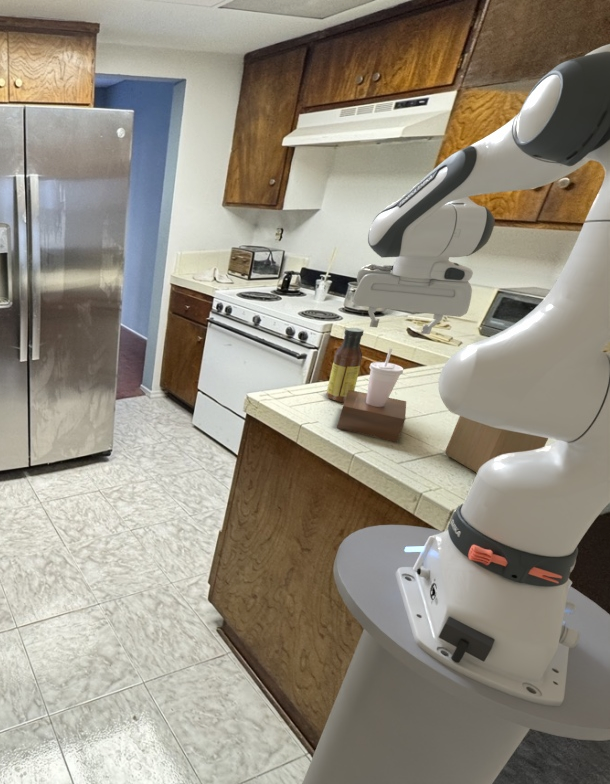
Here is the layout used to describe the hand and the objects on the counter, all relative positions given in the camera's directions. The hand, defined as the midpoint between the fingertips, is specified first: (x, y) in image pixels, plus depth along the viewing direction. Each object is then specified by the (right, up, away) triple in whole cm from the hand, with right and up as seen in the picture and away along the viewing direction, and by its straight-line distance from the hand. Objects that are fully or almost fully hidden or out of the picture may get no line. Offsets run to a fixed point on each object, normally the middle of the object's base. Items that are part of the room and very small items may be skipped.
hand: (398, 329), depth 106 cm
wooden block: (+13, -30, -7) cm, 33 cm away
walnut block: (0, -22, +10) cm, 25 cm away
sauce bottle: (+3, -16, +25) cm, 29 cm away
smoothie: (0, -17, +8) cm, 19 cm away
